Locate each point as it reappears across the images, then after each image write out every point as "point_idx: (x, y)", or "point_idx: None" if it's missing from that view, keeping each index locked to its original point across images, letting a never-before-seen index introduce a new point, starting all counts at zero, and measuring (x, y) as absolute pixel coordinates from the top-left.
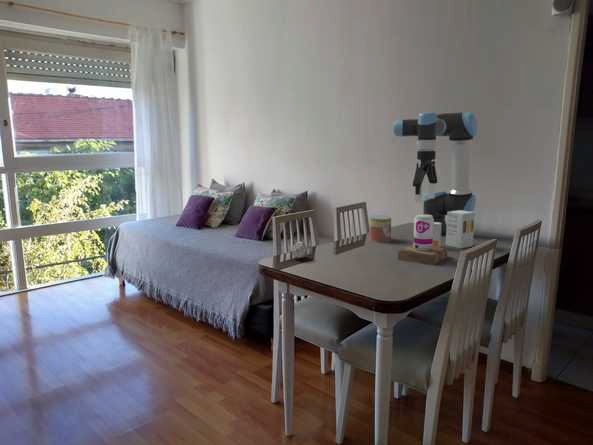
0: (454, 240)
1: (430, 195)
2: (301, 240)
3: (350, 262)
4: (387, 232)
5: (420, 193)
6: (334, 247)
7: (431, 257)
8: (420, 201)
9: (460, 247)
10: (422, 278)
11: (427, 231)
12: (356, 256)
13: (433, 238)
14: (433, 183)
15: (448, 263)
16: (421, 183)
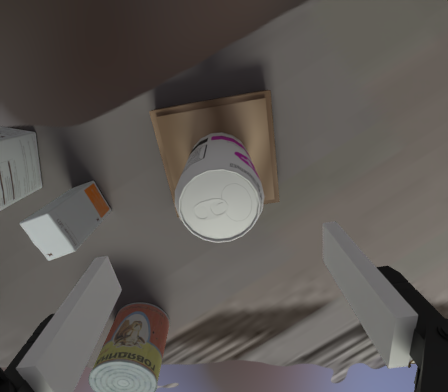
0: (25, 161)
1: (107, 289)
2: (409, 365)
3: (369, 248)
4: (137, 323)
5: (371, 267)
6: (277, 337)
7: (270, 96)
8: (337, 227)
9: (33, 134)
10: (413, 31)
11: (241, 152)
12: (315, 269)
13: (89, 205)
14: (22, 380)
15: (218, 63)
16: (438, 359)
